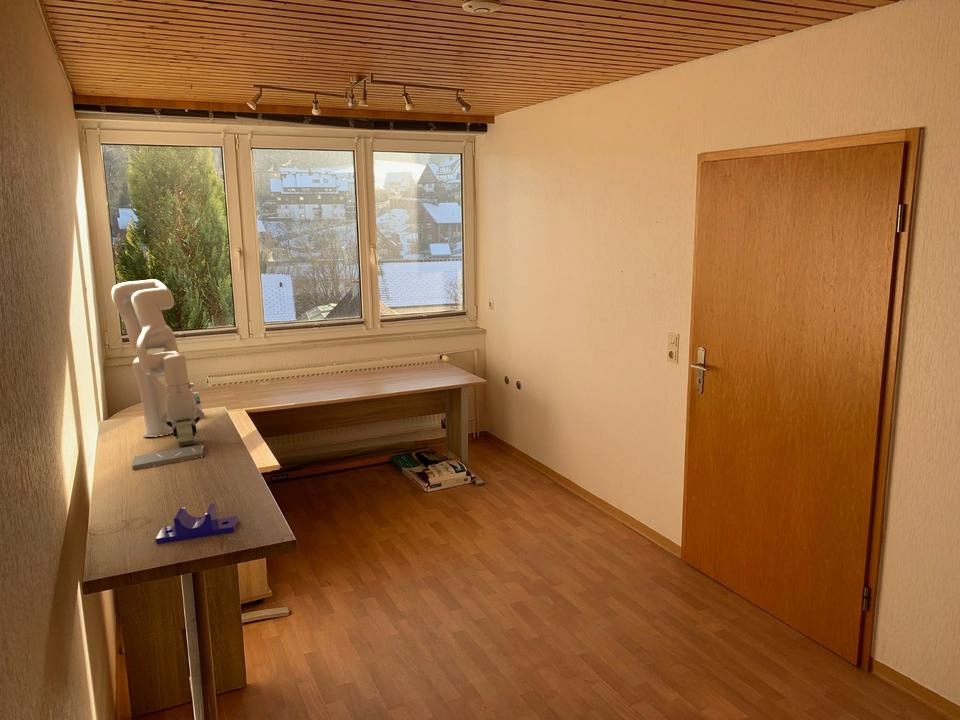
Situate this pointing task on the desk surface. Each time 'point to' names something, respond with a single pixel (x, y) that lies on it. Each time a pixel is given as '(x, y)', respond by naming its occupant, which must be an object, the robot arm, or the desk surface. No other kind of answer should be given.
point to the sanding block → (184, 432)
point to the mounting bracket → (196, 526)
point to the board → (167, 456)
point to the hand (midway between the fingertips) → (185, 436)
